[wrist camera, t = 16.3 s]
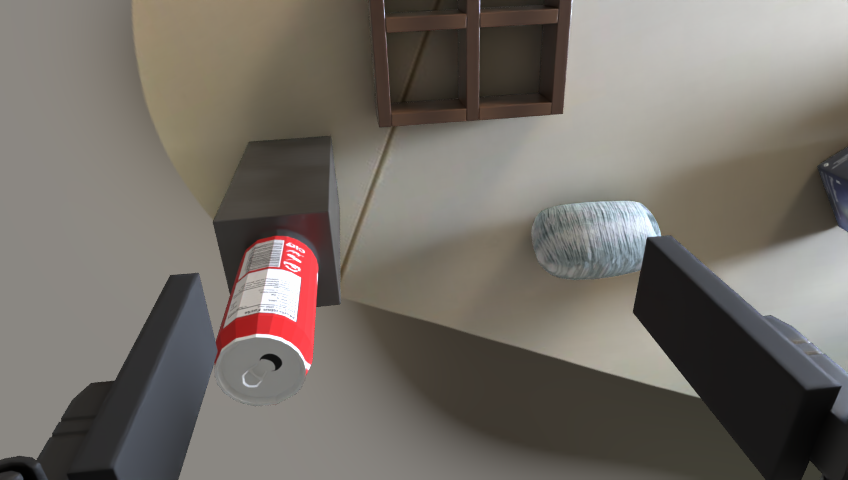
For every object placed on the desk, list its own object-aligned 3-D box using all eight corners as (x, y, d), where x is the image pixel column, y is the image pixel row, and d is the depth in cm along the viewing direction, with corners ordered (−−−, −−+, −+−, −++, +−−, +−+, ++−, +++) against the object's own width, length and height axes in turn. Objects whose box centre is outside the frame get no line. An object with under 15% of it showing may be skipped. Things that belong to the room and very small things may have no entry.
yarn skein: (671, 183, 59) (683, 261, 53) (639, 235, 67) (646, 308, 61) (542, 166, 60) (540, 241, 54) (525, 220, 68) (522, 290, 62)
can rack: (376, 116, 55) (379, 127, 52) (360, -92, 47) (362, -95, 43) (549, 103, 57) (563, 114, 53) (563, -98, 49) (580, -102, 45)
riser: (262, 215, 58) (234, 315, 42) (248, 141, 55) (212, 221, 39) (339, 208, 59) (340, 304, 43) (331, 135, 55) (328, 211, 40)
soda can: (277, 310, 43) (258, 428, 32) (224, 262, 40) (184, 374, 30) (333, 269, 42) (332, 377, 31) (282, 218, 39) (262, 317, 29)
